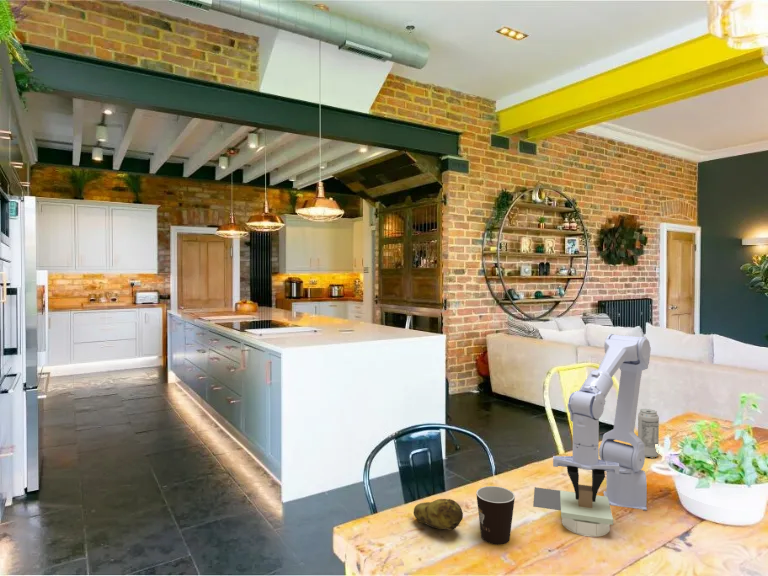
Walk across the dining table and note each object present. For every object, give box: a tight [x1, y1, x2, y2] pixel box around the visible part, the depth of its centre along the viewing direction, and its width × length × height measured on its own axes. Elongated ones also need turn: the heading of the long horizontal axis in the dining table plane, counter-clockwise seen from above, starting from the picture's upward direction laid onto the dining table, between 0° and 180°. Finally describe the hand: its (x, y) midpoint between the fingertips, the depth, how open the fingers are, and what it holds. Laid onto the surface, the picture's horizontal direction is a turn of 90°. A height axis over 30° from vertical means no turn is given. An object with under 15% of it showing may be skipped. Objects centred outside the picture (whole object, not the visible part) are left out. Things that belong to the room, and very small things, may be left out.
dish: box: [561, 517, 611, 538], centre depth 117 cm, size 10×10×3 cm
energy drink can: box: [637, 408, 660, 459], centre depth 162 cm, size 6×6×15 cm
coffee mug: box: [475, 485, 516, 546], centre depth 114 cm, size 12×9×10 cm
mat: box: [532, 486, 569, 511], centre depth 130 cm, size 12×12×1 cm
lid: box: [560, 483, 614, 526], centre depth 117 cm, size 11×11×5 cm
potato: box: [413, 498, 464, 531], centre depth 116 cm, size 8×13×8 cm, turn 26°
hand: (585, 498), depth 117 cm, fingers closed on lid, 3 cm apart
